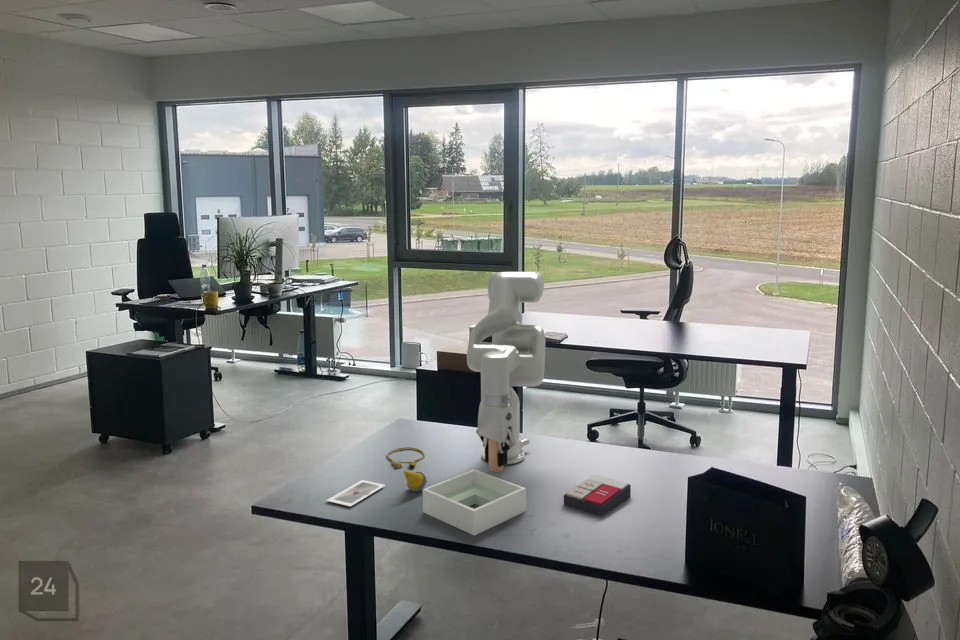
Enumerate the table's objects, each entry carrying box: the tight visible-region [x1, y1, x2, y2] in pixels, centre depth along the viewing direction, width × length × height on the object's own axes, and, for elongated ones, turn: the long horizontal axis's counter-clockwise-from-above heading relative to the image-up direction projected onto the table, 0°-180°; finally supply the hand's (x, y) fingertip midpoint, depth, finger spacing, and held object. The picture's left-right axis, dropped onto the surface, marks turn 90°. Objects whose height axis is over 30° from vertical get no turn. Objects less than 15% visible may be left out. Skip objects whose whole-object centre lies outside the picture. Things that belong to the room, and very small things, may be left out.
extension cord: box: [385, 446, 425, 470], centre depth 218 cm, size 12×16×2 cm
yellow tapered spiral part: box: [403, 470, 428, 493], centre depth 194 cm, size 5×5×10 cm
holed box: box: [422, 469, 527, 536], centre depth 181 cm, size 18×18×6 cm
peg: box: [488, 439, 505, 473], centre depth 198 cm, size 4×4×9 cm
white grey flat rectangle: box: [325, 479, 386, 507], centre depth 192 cm, size 8×15×2 cm, turn 152°
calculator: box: [563, 474, 632, 517], centre depth 187 cm, size 11×4×15 cm
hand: (496, 462), depth 199 cm, fingers closed on peg, 4 cm apart
